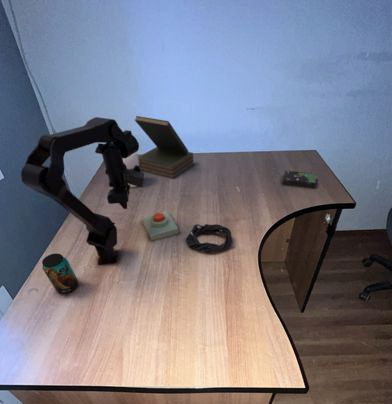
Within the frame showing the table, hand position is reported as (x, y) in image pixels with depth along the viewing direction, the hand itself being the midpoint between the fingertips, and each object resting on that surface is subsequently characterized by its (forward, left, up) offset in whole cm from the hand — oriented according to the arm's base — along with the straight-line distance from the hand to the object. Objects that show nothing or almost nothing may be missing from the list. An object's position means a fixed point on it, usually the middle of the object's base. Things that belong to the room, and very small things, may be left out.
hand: (125, 208), depth 94 cm
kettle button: (+4, -11, -8) cm, 14 cm away
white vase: (+44, +2, -12) cm, 46 cm away
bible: (+61, -16, -12) cm, 64 cm away
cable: (-9, -29, -12) cm, 33 cm away
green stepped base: (+4, -11, -12) cm, 17 cm away
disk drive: (+31, -79, -12) cm, 86 cm away
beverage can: (-25, +19, -12) cm, 34 cm away
